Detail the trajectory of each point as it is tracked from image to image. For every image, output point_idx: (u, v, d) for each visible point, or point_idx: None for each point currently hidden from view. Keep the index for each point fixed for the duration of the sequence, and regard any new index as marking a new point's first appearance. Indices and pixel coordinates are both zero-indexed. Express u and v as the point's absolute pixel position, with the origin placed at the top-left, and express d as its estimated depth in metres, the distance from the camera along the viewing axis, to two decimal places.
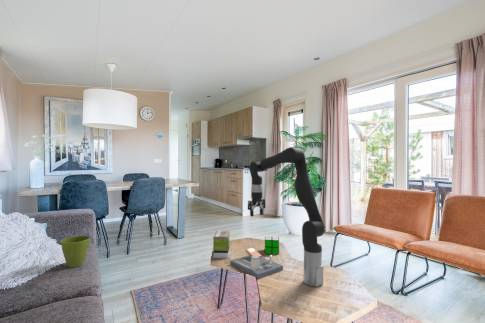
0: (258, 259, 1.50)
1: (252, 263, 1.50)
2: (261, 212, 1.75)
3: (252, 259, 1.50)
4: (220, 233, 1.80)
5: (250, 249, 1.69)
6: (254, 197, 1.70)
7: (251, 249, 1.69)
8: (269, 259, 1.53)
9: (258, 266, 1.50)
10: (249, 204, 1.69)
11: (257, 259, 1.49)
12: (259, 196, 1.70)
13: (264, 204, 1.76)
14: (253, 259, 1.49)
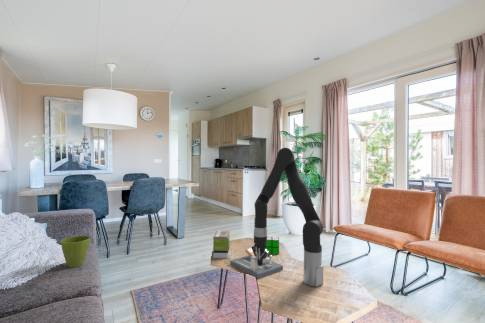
0: None
1: (252, 262, 1.50)
2: None
3: (252, 259, 1.50)
4: (220, 233, 1.80)
5: (250, 249, 1.69)
6: (266, 242, 1.46)
7: (251, 249, 1.69)
8: (269, 259, 1.53)
9: (258, 266, 1.50)
10: (266, 255, 1.44)
11: (257, 259, 1.49)
12: None
13: None
14: (253, 259, 1.49)
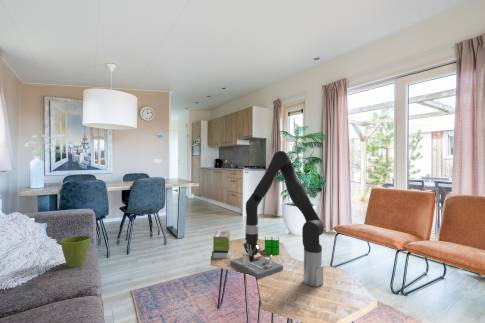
0: None
1: (244, 259, 1.56)
2: None
3: (244, 255, 1.56)
4: (220, 233, 1.80)
5: None
6: (257, 239, 1.51)
7: None
8: (269, 259, 1.53)
9: (249, 262, 1.56)
10: (257, 251, 1.50)
11: (248, 255, 1.55)
12: None
13: None
14: (245, 255, 1.55)
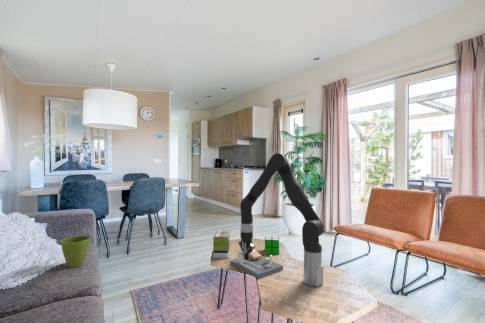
0: None
1: (239, 256, 1.59)
2: None
3: (239, 253, 1.59)
4: (220, 233, 1.80)
5: None
6: (252, 237, 1.55)
7: None
8: (269, 259, 1.53)
9: (244, 260, 1.59)
10: (252, 249, 1.53)
11: (243, 253, 1.59)
12: None
13: None
14: (240, 253, 1.59)
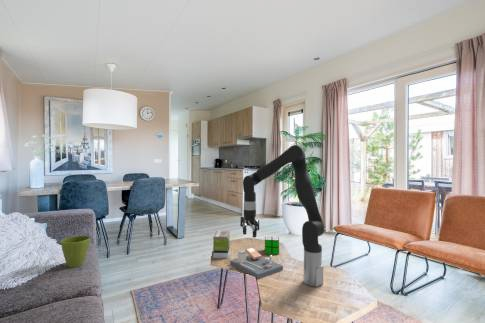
0: (244, 253, 1.59)
1: (239, 256, 1.59)
2: (245, 231, 1.59)
3: (239, 253, 1.59)
4: (220, 233, 1.80)
5: (250, 249, 1.69)
6: (255, 215, 1.54)
7: (251, 249, 1.69)
8: (269, 259, 1.53)
9: (244, 260, 1.59)
10: (258, 224, 1.50)
11: (243, 253, 1.59)
12: None
13: (244, 222, 1.61)
14: (240, 253, 1.59)
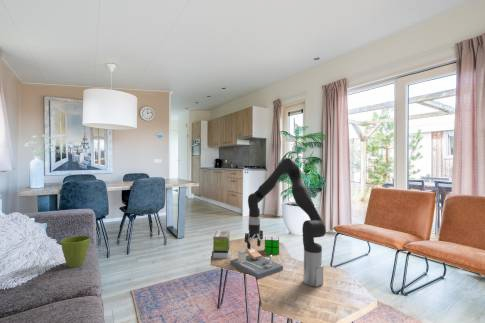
0: (244, 253, 1.59)
1: (239, 256, 1.59)
2: None
3: (239, 253, 1.59)
4: (220, 233, 1.80)
5: (250, 249, 1.69)
6: None
7: (251, 249, 1.69)
8: (269, 259, 1.53)
9: (244, 260, 1.59)
10: None
11: (243, 253, 1.59)
12: None
13: None
14: (240, 253, 1.59)
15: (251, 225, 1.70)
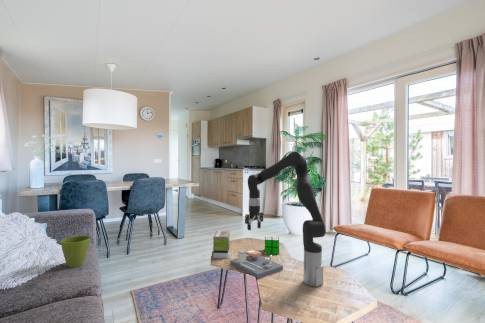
0: (244, 253, 1.59)
1: (239, 256, 1.59)
2: None
3: (239, 253, 1.59)
4: (220, 233, 1.80)
5: (249, 251, 1.69)
6: None
7: (250, 251, 1.69)
8: (269, 259, 1.53)
9: (244, 260, 1.59)
10: None
11: (243, 253, 1.59)
12: None
13: None
14: (240, 253, 1.59)
15: (251, 206, 1.70)
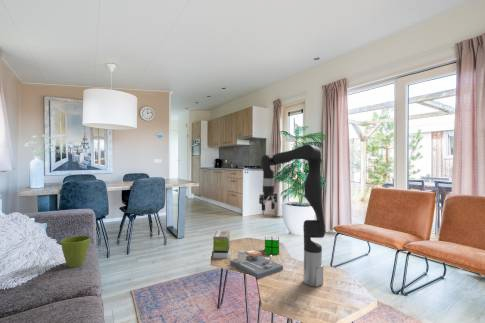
0: (244, 253, 1.59)
1: (239, 256, 1.59)
2: None
3: (239, 253, 1.59)
4: (220, 233, 1.80)
5: (249, 251, 1.69)
6: None
7: (250, 251, 1.69)
8: (269, 259, 1.53)
9: (244, 260, 1.59)
10: None
11: (243, 253, 1.59)
12: None
13: None
14: (240, 253, 1.59)
15: (266, 186, 1.68)
